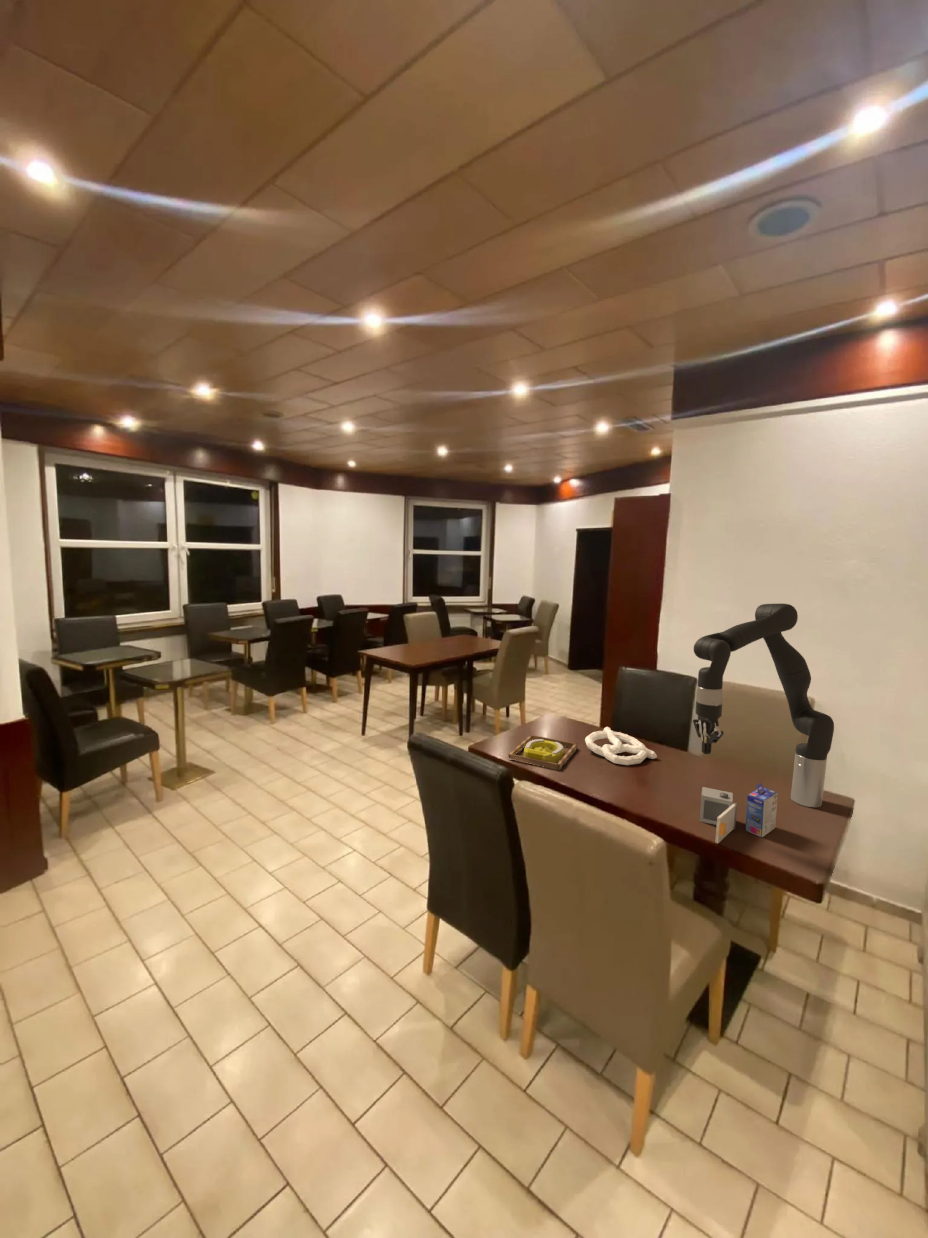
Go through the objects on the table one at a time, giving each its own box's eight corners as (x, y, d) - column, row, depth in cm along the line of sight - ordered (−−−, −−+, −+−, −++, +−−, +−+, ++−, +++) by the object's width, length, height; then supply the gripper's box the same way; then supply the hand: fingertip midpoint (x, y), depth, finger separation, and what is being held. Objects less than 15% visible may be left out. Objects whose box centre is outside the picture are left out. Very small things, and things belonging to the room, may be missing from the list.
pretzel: (660, 761, 219) (663, 747, 218) (625, 775, 206) (628, 761, 204) (609, 734, 241) (611, 721, 240) (574, 745, 228) (576, 732, 226)
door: (715, 843, 153) (717, 816, 152) (731, 827, 162) (734, 802, 161) (722, 845, 152) (724, 819, 151) (738, 830, 161) (740, 804, 160)
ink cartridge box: (757, 821, 167) (761, 779, 165) (775, 828, 163) (780, 785, 161) (743, 830, 161) (747, 787, 160) (762, 838, 157) (766, 793, 155)
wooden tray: (530, 739, 238) (530, 734, 237) (577, 748, 228) (577, 743, 227) (508, 760, 214) (508, 754, 213) (559, 770, 204) (559, 764, 203)
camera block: (700, 812, 173) (702, 784, 171) (730, 818, 168) (732, 790, 167) (699, 821, 166) (701, 793, 165) (730, 828, 162) (732, 799, 161)
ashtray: (516, 761, 213) (516, 750, 213) (533, 745, 232) (533, 735, 231) (553, 769, 206) (554, 757, 205) (568, 752, 224) (568, 741, 223)
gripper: (686, 695, 167) (683, 746, 169) (711, 707, 154) (708, 762, 156) (707, 694, 168) (704, 744, 170) (733, 706, 155) (730, 760, 157)
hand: (706, 753), depth 163 cm, fingers closed
